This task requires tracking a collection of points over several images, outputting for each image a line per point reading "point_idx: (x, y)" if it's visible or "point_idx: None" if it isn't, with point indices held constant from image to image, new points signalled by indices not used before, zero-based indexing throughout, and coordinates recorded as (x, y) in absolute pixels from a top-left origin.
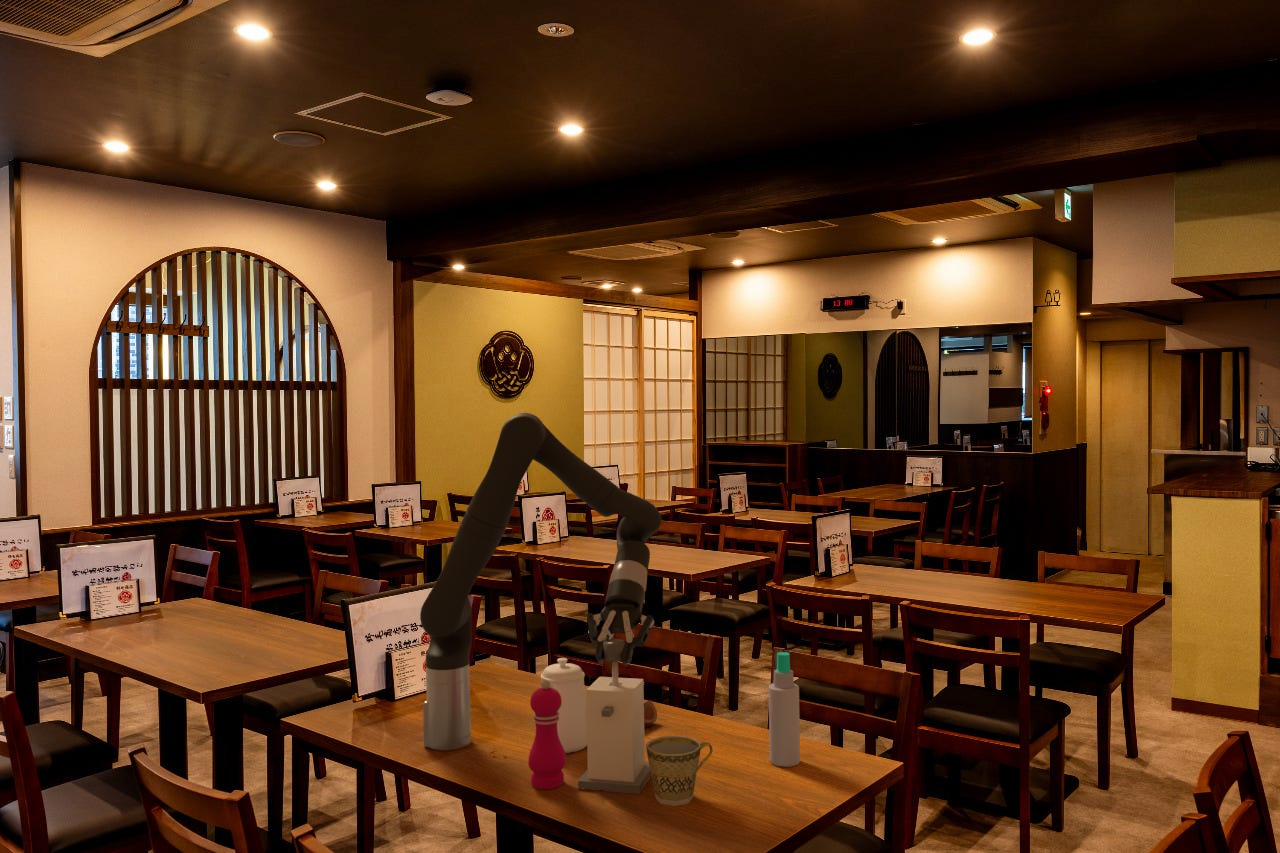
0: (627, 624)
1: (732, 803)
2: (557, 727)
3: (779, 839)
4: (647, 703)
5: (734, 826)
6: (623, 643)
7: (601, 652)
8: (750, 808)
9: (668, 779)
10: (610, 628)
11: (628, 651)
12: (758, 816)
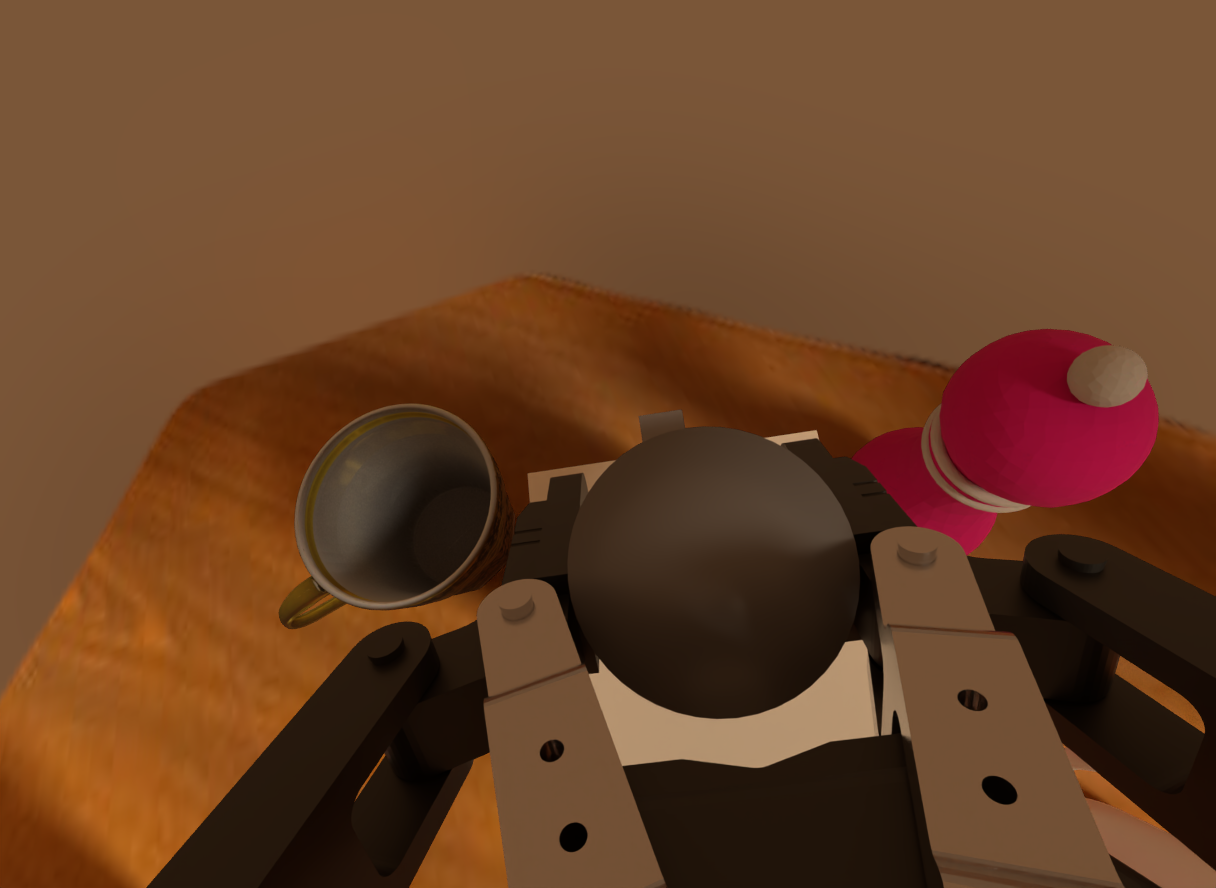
0: (546, 772)
1: (303, 562)
2: (1106, 832)
3: (184, 404)
4: None
5: (286, 431)
6: (574, 528)
7: None
8: (253, 546)
9: (435, 452)
10: (893, 742)
11: (534, 546)
12: (232, 505)
